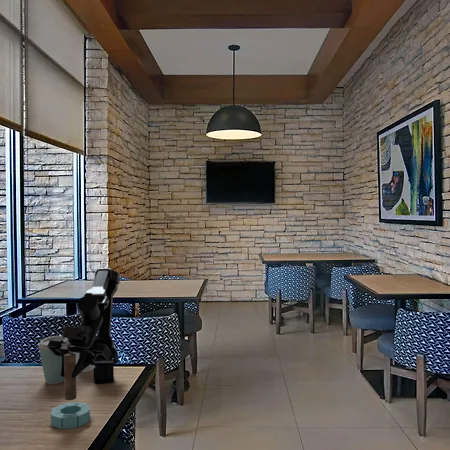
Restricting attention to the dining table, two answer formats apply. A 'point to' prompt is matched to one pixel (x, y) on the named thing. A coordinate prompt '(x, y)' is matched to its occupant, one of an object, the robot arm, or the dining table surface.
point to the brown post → (69, 376)
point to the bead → (70, 415)
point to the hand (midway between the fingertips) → (67, 377)
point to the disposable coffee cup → (51, 361)
